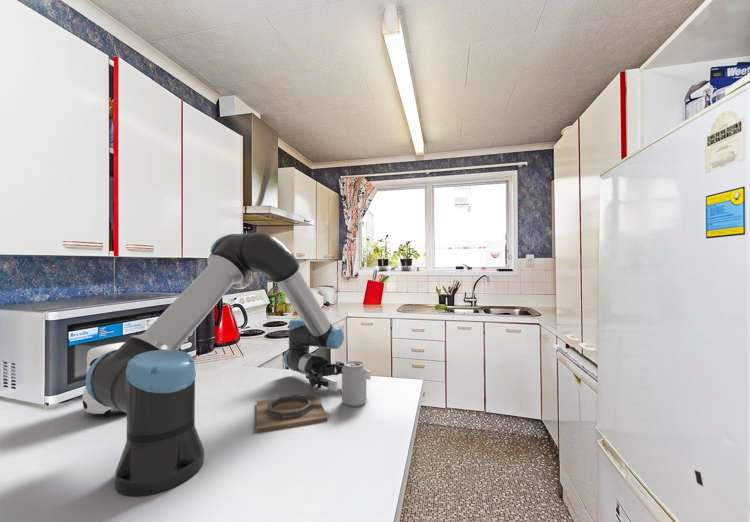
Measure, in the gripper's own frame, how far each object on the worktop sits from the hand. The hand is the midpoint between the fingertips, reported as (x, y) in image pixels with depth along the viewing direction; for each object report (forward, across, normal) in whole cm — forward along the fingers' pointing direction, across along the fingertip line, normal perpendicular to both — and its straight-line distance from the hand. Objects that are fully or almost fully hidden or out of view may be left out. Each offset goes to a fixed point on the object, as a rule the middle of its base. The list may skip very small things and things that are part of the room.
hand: (353, 380), depth 101 cm
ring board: (-7, +18, -6) cm, 20 cm away
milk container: (-47, +51, -7) cm, 69 cm away
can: (+1, 0, -7) cm, 7 cm away
